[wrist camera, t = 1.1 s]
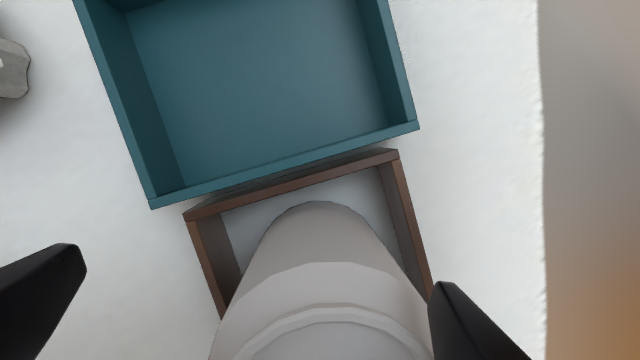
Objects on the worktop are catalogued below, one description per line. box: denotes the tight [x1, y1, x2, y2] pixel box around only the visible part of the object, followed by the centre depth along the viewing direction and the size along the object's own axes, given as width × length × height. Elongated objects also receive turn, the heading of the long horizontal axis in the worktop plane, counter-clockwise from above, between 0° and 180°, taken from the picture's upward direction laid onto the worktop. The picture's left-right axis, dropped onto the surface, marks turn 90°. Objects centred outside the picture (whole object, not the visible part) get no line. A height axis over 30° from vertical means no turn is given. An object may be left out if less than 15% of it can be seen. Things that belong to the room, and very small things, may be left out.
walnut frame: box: [182, 148, 434, 321], centre depth 18 cm, size 11×11×4 cm
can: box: [208, 201, 434, 360], centre depth 14 cm, size 8×8×12 cm
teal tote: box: [72, 0, 420, 210], centre depth 16 cm, size 11×13×4 cm
